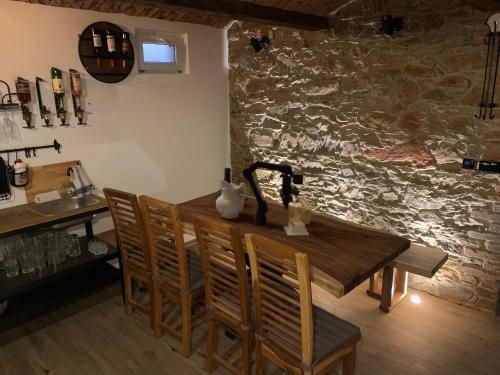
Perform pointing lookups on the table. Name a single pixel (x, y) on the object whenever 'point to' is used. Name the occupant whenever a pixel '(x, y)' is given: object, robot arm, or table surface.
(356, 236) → the table surface
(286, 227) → the grey mat
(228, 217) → the ceramic pitcher
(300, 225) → the card box
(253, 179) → the robot arm
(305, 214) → the cheese
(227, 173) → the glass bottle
